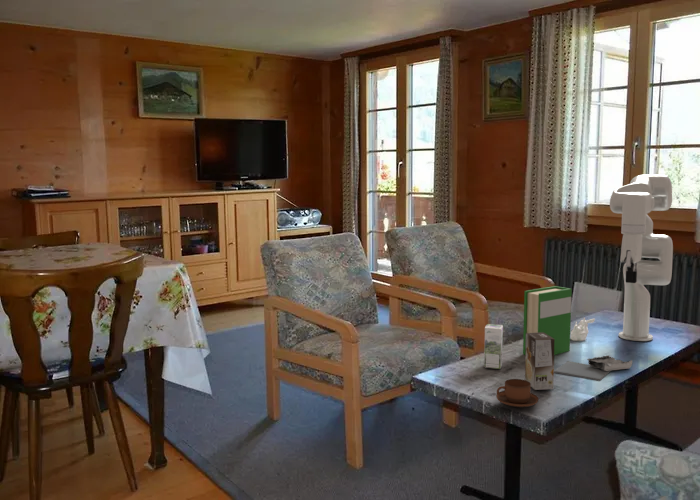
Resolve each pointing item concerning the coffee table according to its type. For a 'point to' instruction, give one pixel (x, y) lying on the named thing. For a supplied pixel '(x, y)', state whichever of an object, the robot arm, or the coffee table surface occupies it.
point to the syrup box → (493, 346)
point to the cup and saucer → (517, 393)
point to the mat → (581, 371)
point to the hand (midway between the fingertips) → (631, 282)
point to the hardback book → (549, 315)
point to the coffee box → (539, 360)
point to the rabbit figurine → (581, 330)
